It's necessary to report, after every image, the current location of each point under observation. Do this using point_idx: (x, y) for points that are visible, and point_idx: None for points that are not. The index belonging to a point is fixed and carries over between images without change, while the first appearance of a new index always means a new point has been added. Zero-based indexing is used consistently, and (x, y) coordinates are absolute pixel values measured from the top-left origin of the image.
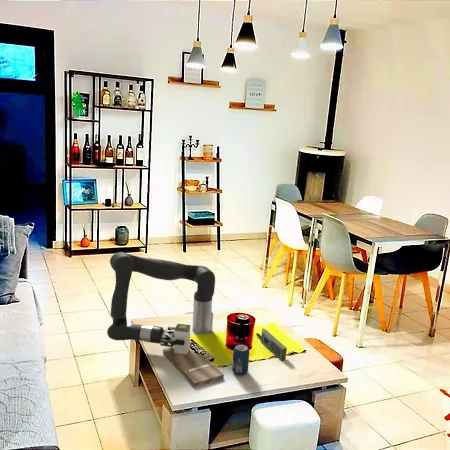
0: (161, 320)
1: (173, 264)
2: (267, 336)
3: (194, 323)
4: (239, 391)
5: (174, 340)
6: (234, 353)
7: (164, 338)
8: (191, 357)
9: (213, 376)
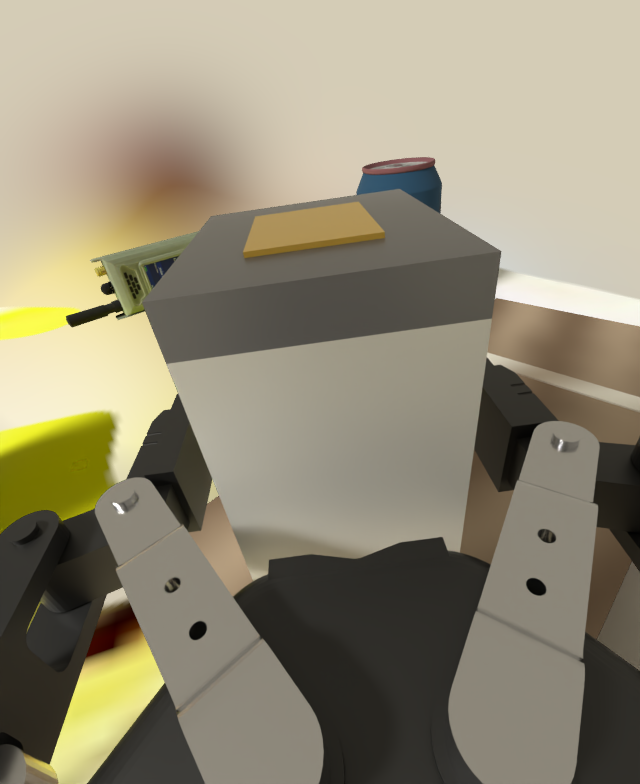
0: None
1: None
2: (160, 251)
3: None
4: (535, 278)
5: (590, 432)
6: (433, 193)
7: None
8: None
9: (554, 313)
